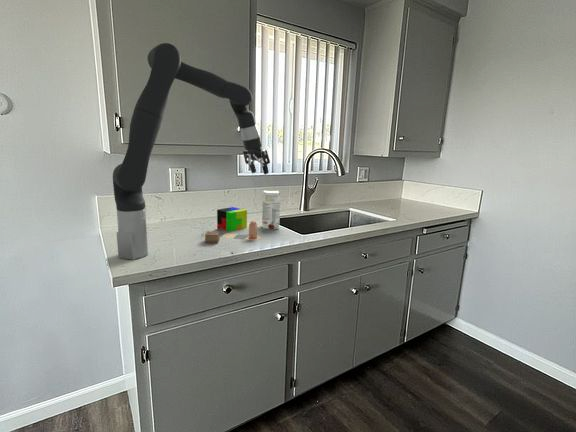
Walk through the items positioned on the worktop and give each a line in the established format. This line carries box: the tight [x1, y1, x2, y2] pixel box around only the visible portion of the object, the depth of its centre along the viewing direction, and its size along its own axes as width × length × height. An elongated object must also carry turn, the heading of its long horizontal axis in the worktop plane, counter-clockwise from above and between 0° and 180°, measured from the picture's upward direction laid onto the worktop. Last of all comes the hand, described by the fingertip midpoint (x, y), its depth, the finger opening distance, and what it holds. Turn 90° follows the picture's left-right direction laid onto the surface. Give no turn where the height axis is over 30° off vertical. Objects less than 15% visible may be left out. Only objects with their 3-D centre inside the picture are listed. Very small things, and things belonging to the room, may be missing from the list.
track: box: [220, 232, 262, 242], centre depth 144 cm, size 7×22×1 cm, turn 78°
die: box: [204, 230, 221, 244], centre depth 135 cm, size 5×5×5 cm
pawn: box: [248, 220, 258, 239], centre depth 141 cm, size 4×4×8 cm
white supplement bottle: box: [261, 190, 281, 230], centre depth 160 cm, size 8×9×19 cm
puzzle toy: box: [216, 206, 248, 232], centre depth 158 cm, size 10×10×10 cm
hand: (260, 173), depth 146 cm, fingers open, 8 cm apart
